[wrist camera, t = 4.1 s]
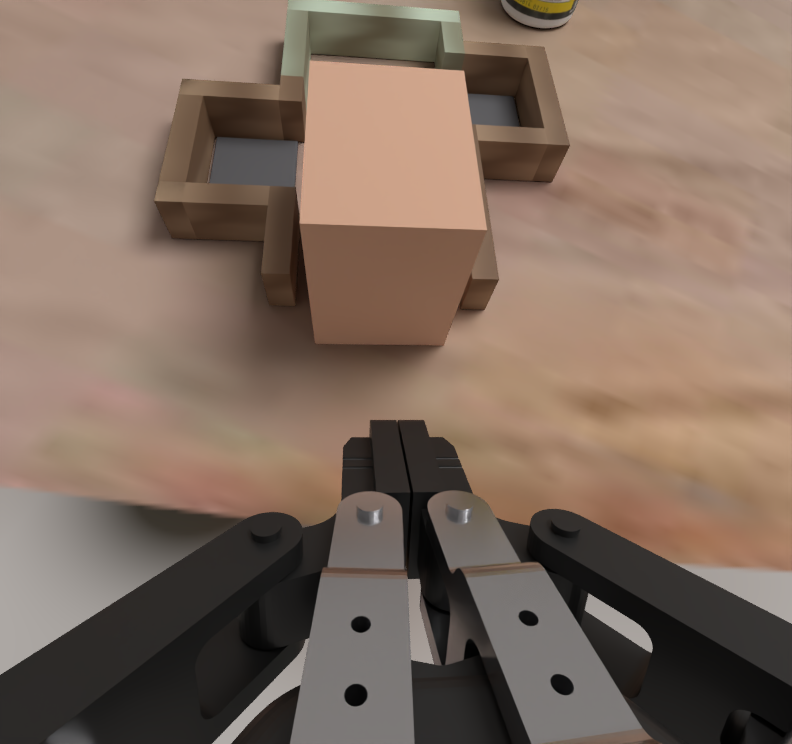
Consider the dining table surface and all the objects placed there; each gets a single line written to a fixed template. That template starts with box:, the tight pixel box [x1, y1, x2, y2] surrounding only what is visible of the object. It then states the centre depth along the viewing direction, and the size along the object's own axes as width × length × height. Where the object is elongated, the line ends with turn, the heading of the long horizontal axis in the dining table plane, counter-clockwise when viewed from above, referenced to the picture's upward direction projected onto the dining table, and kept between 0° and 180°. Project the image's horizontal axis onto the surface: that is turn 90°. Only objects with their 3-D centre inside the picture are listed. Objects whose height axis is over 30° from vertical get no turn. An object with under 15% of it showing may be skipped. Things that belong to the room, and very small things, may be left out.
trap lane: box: [154, 0, 570, 310], centre depth 27 cm, size 20×20×2 cm
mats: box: [210, 93, 519, 187], centre depth 28 cm, size 18×11×1 cm, turn 92°
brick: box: [300, 61, 487, 345], centre depth 21 cm, size 6×8×8 cm
